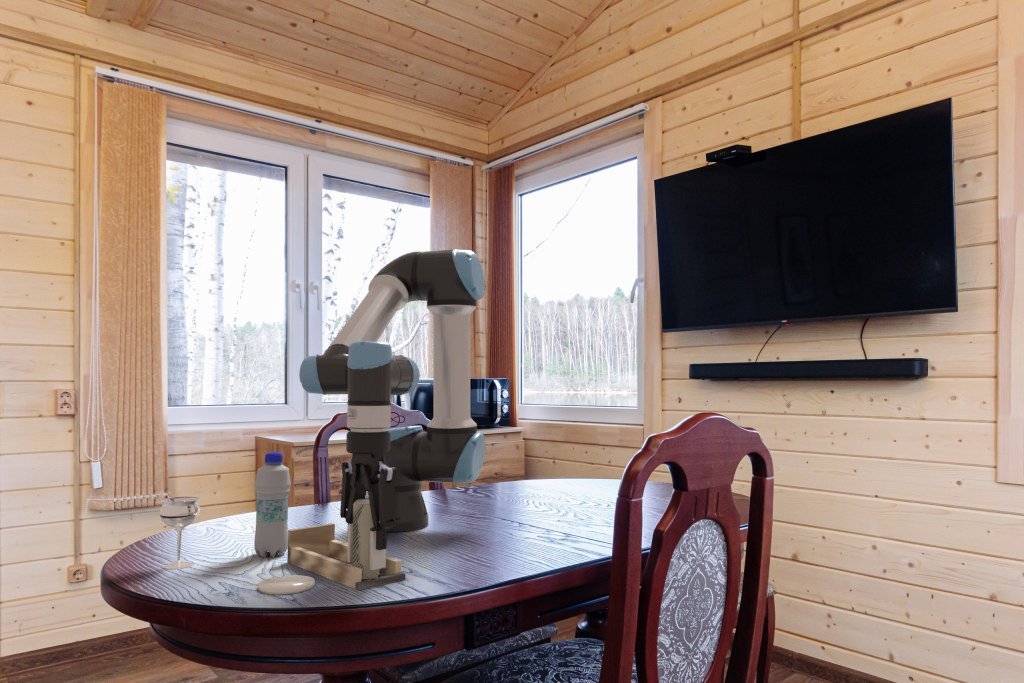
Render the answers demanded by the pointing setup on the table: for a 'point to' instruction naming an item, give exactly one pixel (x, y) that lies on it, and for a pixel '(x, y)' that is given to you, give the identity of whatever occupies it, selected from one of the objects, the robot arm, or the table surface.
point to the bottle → (272, 506)
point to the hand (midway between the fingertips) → (366, 564)
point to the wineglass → (179, 521)
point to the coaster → (286, 584)
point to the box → (362, 538)
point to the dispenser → (319, 542)
